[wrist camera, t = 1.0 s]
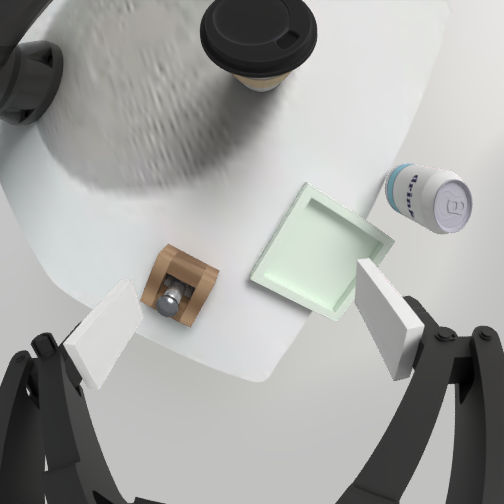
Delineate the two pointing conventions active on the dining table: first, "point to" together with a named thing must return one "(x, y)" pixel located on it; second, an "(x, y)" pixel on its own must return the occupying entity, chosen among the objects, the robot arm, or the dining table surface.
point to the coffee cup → (258, 39)
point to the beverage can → (429, 197)
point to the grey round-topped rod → (171, 298)
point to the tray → (319, 253)
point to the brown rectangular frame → (185, 271)
